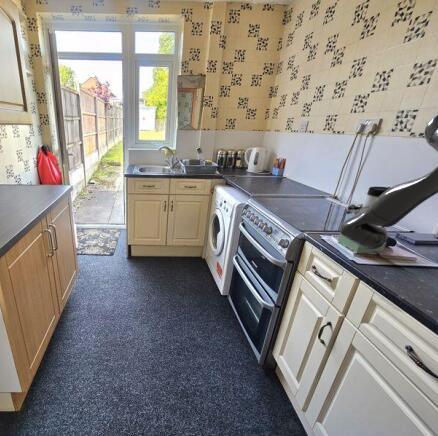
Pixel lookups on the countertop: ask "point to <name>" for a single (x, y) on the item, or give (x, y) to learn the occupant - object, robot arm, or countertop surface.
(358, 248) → the riser block
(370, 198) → the travel mug
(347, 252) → the countertop surface
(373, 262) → the countertop surface
